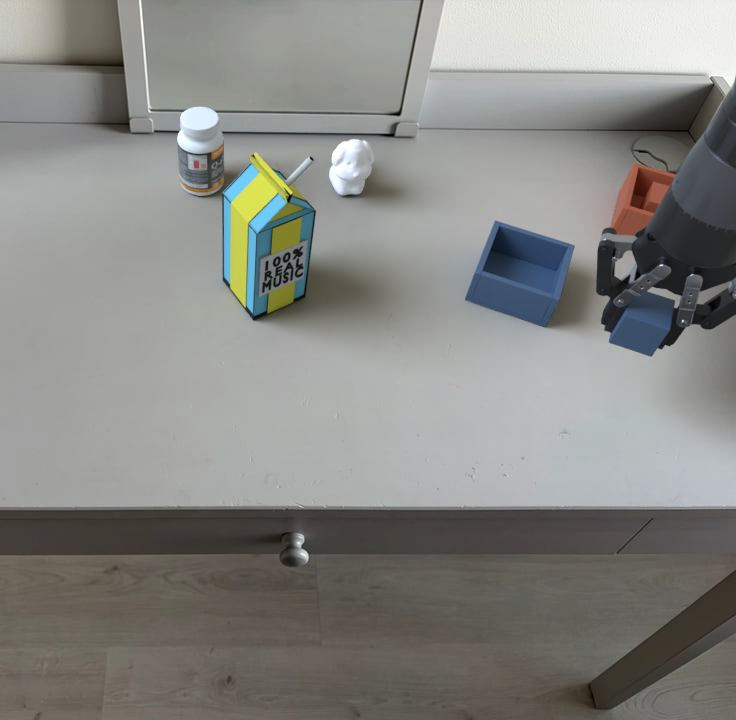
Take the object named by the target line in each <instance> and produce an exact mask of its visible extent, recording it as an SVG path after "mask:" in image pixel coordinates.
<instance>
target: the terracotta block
mask: <svg viewBox="0 0 736 720" xmlns="http://www.w3.org/2000/svg"><path fill="white" fill-rule="evenodd" d="M669 187H670V186H667V185H664V184H660V183H657V182H653V183H652V185H651V187H650V188H649V190H648V192H647V194H646V195H645V197H644V199H643V201H642V203H641V204H640V207H639V209H642V210H645V211H649V212H652V213H655V211H656V210H657V208H658V206H659V204H660V202H661V201H662V199H663V197H664V195H665V194H666V192H667V190H668V188H669Z"/></svg>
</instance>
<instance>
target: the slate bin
mask: <svg viewBox="0 0 736 720" xmlns="http://www.w3.org/2000/svg"><path fill="white" fill-rule="evenodd" d="M575 248H576V247H575V244H572V243H570V242H565V241H562V240H559V239H556V238H553V237H550V236H546V235H544V234H540V233H538V232H533V231H530V230H528V229H524V228H520V227H517V226H514V225H512V224H508V223H506V222H502V221H499V220H494V222H493V224H492V227H491V230H490V232H489V234H488V237H487V240H486V242H485V245H484V248H483V250H482V253H481V255H480V258H479V260H478V263H477V265H476V267H475V268H476V269H475V271H474V273H473V275H472V276H473V277H472V279H471V282H470V285H469V287H468V290H467V292H466V295H465V297H464V301H466V302H468V303H473V304H476V305H479V306H481V307H485V308H486V309H491V310H494V311H495V312H498V313H502V314H505V315H508V316H511V317H514V318H517V319H519V320H523V321H525V322H529V323H532V324H534V325H538V326H540V327H544V328H546V327H547V325H548V323H549V321H550V319H551V317H552V315H553V313H554V312H555V309H556V307H557V306H558V304H559V302H560V299H561V297H562V296H561V295H562V292H563V289H564V285H565V282H566V278H567V276H568V275H567V274H568V273H569V272H568V271H569V268H570V265H571V262H572V261H571V260H572V258H573V255H574V254H573V253H574V251H575Z"/></svg>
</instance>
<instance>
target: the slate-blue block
mask: <svg viewBox="0 0 736 720" xmlns="http://www.w3.org/2000/svg"><path fill="white" fill-rule="evenodd" d="M675 305H676V300H675V299H673V298H669V297H666V296H663V295H660V294H657V293H653V292H651V291H647V292H645V293H644V294H643V295H642V296H640V297H639V296H637V297H636V298H635V299H633V300H632V301H631V302H630V303H629V304H628V305H627V307H626V310H625V312H624V313H623V315H622V317H621V318H620V320H619V322H618V323H617V325H616V327H615V328H614V330H613V331H612V333H610V332H609V337H608V343H609V344H611V345H615V346H618V347H621V348H623V349H626V350H629V351H633V352H635V353H638V354H641V355H644V356H646V357H647V356H648V357H649V358H650V357H653V355H654V354H655V352H656V351H657V350H658V347H659V345H660V344H661V343H662V341H663V340H664V338H665V337H666V335H667V334H668V333H669V331H670V329H671V323H672V317H673V311H674V308H675Z"/></svg>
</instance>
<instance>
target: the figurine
mask: <svg viewBox="0 0 736 720" xmlns="http://www.w3.org/2000/svg"><path fill="white" fill-rule="evenodd" d="M374 162H375V155H374V151H373V149H372V148H371V145H370V143H369V142H368V141H367V140H361V139H359V138H352V139H349V140H347V141H346V140H345V141H344V140H343V141H342V142H341V143H339V144H338V145H337V147H336V148H335V149H334V150H333V152H332V155H331V164H332V165H331V166H330V168H329V170H328V171H329V172H328V173H329V175H328V178H329V181H330V183H331V185H332V187H333V189H334V191H335V192H336V194H338V195H339V196H347V195H354V196H357V195H360V194H361V193H362V192H363V190H364V188H365V184H366V179H367V178H369V177H370V175H371V173H372V171H373V166H372V165H373V164H374Z"/></svg>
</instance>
